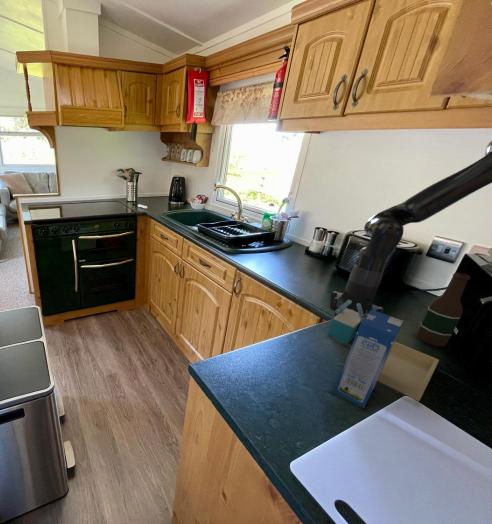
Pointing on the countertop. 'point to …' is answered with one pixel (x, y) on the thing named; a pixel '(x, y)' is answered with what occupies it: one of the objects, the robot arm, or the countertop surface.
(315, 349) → the countertop surface
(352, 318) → the white and teal box
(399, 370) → the crate
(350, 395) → the milk carton
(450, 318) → the beer bottle
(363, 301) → the robot arm
